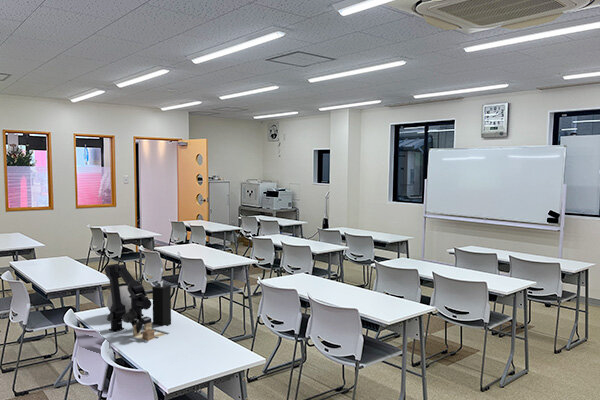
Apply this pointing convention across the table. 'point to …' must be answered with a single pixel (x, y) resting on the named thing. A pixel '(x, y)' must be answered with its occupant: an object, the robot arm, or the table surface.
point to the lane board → (154, 336)
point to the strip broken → (149, 326)
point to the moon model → (122, 298)
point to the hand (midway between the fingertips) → (136, 332)
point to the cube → (148, 334)
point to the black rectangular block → (162, 304)
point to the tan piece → (137, 333)
